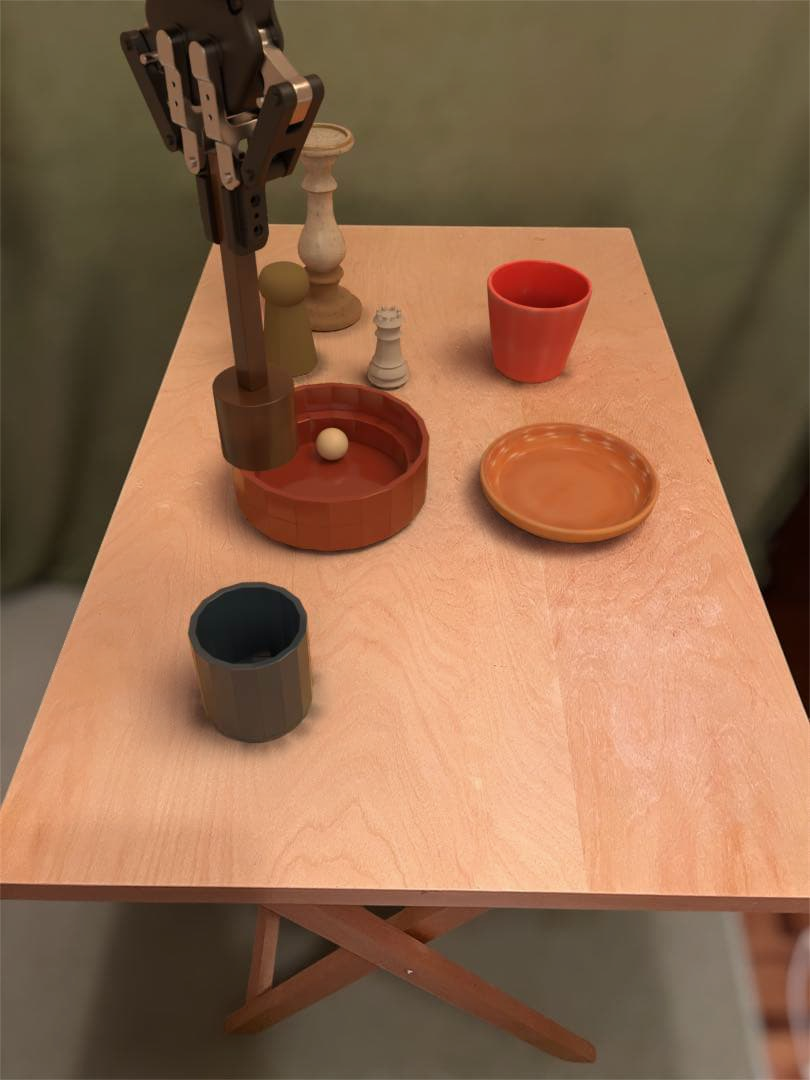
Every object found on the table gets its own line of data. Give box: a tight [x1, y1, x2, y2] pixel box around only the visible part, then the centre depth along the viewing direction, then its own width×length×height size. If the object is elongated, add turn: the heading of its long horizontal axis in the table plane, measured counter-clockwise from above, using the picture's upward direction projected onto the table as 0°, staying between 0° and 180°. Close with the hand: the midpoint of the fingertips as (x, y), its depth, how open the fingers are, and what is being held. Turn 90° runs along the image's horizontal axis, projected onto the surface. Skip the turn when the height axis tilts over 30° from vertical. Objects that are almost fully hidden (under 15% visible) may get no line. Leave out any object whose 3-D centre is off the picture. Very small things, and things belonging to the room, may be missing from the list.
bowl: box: [231, 382, 431, 552], centre depth 81 cm, size 17×17×6 cm
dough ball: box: [316, 428, 348, 460], centre depth 85 cm, size 3×3×3 cm
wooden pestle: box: [208, 148, 299, 472], centre depth 53 cm, size 5×5×19 cm
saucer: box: [479, 421, 661, 544], centre depth 82 cm, size 16×16×3 cm
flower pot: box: [486, 259, 593, 384], centre depth 97 cm, size 11×11×10 cm
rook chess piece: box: [367, 305, 410, 390], centre depth 94 cm, size 4×4×8 cm
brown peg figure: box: [258, 260, 318, 378], centre depth 96 cm, size 6×6×11 cm
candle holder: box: [296, 122, 363, 332], centre depth 100 cm, size 9×9×20 cm
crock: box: [187, 581, 314, 743], centre depth 63 cm, size 8×8×8 cm
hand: (237, 243), depth 50 cm, fingers closed on wooden pestle, 1 cm apart
